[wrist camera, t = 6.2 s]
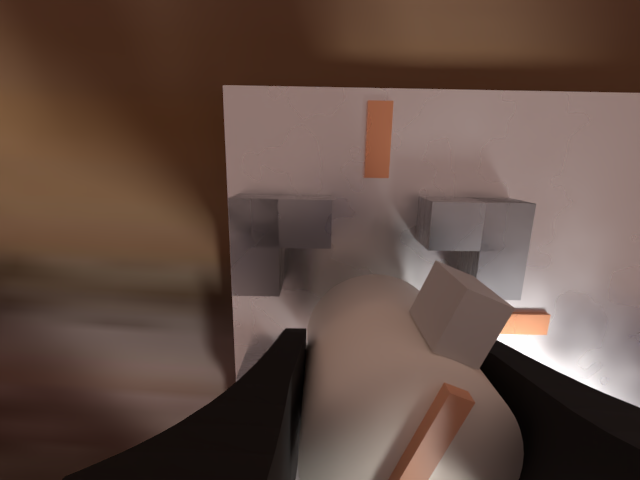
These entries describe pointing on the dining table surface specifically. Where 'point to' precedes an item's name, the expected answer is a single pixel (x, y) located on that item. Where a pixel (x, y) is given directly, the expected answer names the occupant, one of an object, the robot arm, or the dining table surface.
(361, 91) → the hub plate
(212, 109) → the dining table surface
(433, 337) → the knob
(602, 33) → the dining table surface
